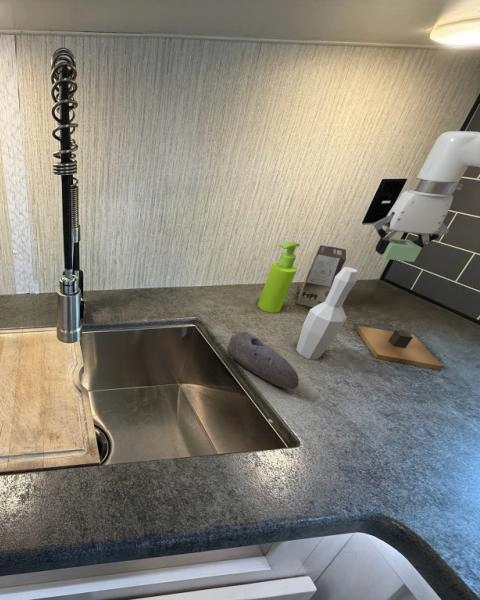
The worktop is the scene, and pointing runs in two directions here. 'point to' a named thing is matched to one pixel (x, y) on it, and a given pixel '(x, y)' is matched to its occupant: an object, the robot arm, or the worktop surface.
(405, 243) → the sage block
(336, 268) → the coffee box
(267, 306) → the soap dispenser
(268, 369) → the perforated stone tool
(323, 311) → the faceted bottle
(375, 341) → the base pad
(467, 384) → the worktop surface
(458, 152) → the robot arm
